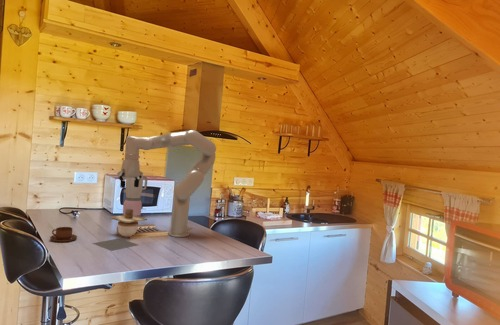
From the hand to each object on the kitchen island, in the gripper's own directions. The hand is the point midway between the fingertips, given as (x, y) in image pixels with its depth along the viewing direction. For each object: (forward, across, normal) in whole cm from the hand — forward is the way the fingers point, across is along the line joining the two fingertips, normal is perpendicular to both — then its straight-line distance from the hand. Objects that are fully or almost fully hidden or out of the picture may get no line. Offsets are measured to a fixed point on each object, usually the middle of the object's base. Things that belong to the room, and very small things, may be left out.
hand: (129, 187), depth 198 cm
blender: (+27, -32, -31) cm, 52 cm away
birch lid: (+17, +3, +5) cm, 18 cm away
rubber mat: (+26, +19, +15) cm, 36 cm away
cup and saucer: (+27, +33, -7) cm, 43 cm away
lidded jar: (+27, +4, +5) cm, 28 cm away
